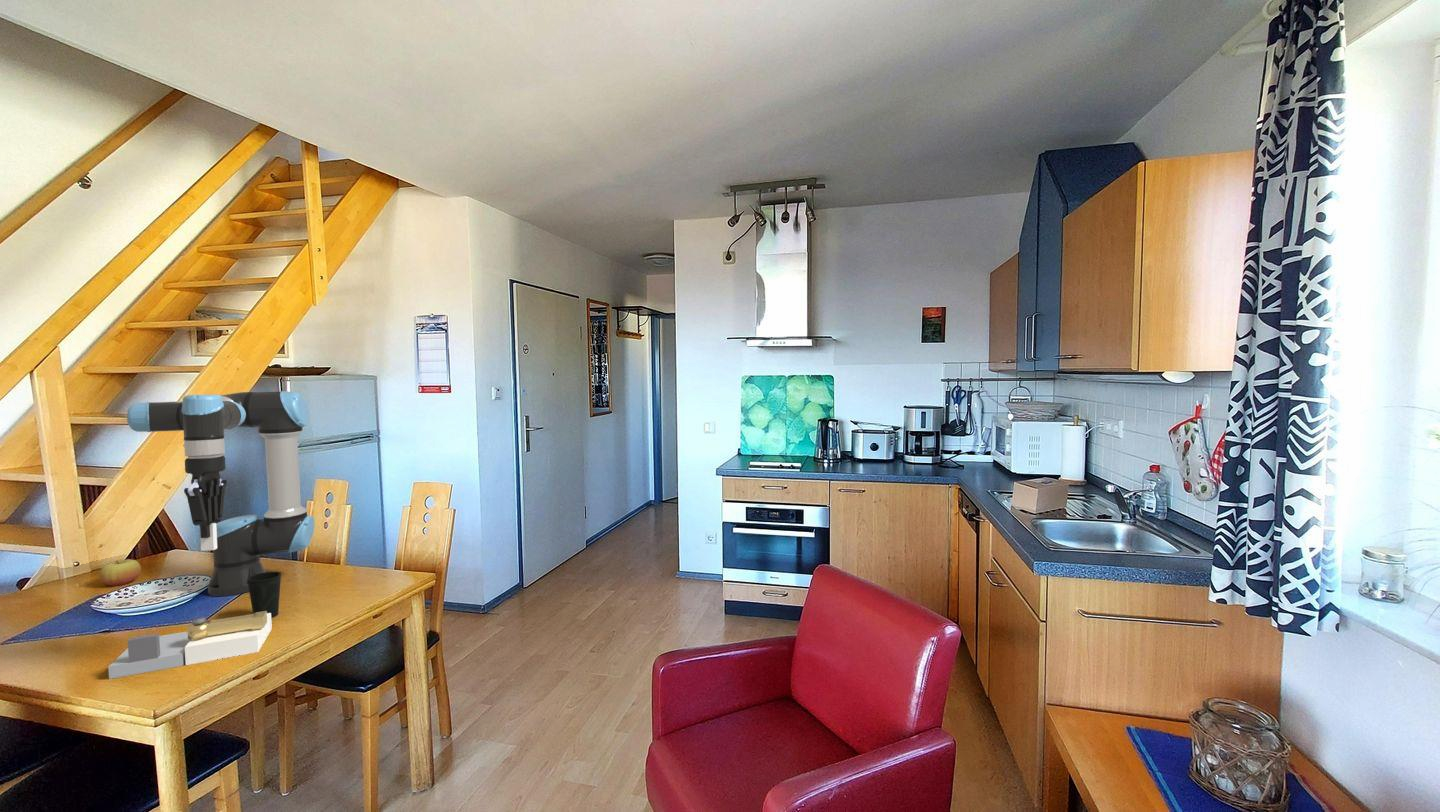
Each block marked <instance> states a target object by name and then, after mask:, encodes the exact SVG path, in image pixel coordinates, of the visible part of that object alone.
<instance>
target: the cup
mask: <svg viewBox="0 0 1440 812" xmlns="http://www.w3.org/2000/svg"><path fill="white" fill-rule="evenodd" d="M281 578H282V573H281V572H279V571H267V572H265V573H260V574H256V575H253V576H251V577H249V578H248V579H247V581H248V587H249V592H248V593H249V598H250V604H251V609H252V614H255V613H256V612H262V611H267V613H271V619H272V618H275V617H277V616H278V615H279V609H280V596H281V595H280V591H281V582H282V581H281Z"/></svg>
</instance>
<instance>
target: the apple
mask: <svg viewBox="0 0 1440 812" xmlns="http://www.w3.org/2000/svg"><path fill="white" fill-rule="evenodd" d="M141 573H142V566H141V564H140V562H139V561H137V560H135V559H131V558H130V559H129V558H127V559H121V560H115V561H112V562H109V563H107V564H105V565H103V566H102V567H101V569H100V571H99V573H98V578H99V580H100V581H101V582H102V583H103V584H105V585H106V586H108V587H110V586H112V587H114V586H115V587H116V586H122V585H127V584H129V583H132V582H133V581H135V580H137V578H138V577H139V576H140V574H141Z"/></svg>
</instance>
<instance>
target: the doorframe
mask: <svg viewBox="0 0 1440 812" xmlns="http://www.w3.org/2000/svg"><path fill="white" fill-rule="evenodd" d="M205 620H206V617H198V618H195V619H193V620H192V622H191V623H192V624H193V625H198V624H202V623H204V622H205ZM272 623H273V622H272V618H271V613H267V623H266V625H265V626H264V628H259V629H253V630H252V629H247V630H241V631H234V632H228V633H222V634H216V635H210V636H206V637H204V638H200V639H194V640H190V639H188V633H187V631H182V632H176V633H169V634H162V635H160V633H153V634H145V635H140V636H133V637H130V638H128V640H127V648H126V649H125V650H124V651H123V652H122V653H121V654H120V655H119V656H117V658H115V660H113V661H112V662H111V663H110V664H109V665H108V668H107V669H108V680H113V679H117V678H123V677H128V676H133V675H138V674H139V675H140V674H146V673H151V672H157V671H163V670H166V669H173V668H178V667H182V666H190V665H194V664H195V665H196V664H200V663H206V662H211V661H217V659H218V660H221V659H222V658H223V659H227V658H228V657H229V658H234V657H239V655H240V656H245V655H249V654H250V653H251V654H255V653H259V651H260V650H261V648H262V647H263V645H264V643H265V641H266V639H267V638H268V636H269V634H270V633H271V631H272V629H273V625H272ZM262 644H263V645H262ZM251 654H250V655H251ZM233 656H234V657H233Z"/></svg>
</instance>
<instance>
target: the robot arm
mask: <svg viewBox="0 0 1440 812" xmlns="http://www.w3.org/2000/svg"><path fill="white" fill-rule="evenodd" d="M307 404H308V403H307V401H306V399H305V398H304V395H302V394H301V393H299V392H297V391H284V390H283V391H282V390H281V391H243V392H234V393H228V394H227V393H226V394H221V395H220V394H187V395H185V396H184V397H183V398H182V400H177V401H175V400H174V401H162V402H159V401H158V402H155V401H154V402H151V401H150V402H149V401H147V402H146V401H145V402H135V403H133V404H132V405H130V406H129V408H128V410H127V412H126V419H127V420H126V421H127V425H128V426H129V428H130V429H131V430H132V431H134V432H139V433H140V432H142V433H144V432H145V433H146V432H147V433H152V432H175V431H176V432H182V431H183V441H184V442H183V445H182V446H183V447H184V456H185V457H187V458H185V459H184V471H185V473H186V474H190V475H191V480H190V485H191V486H190V487H185V488H184V489H183V491H184V494H185V496H186V499H187V503H188V508H189V512H190V517H191V521H192V524H193V525H194V526H199V535H200V536H199V537H200V551H201V552H205V551H206V552H207V551H212V557H213V571H212V574H211V577H210V580H209V582H208V586H207V594H208V595H210V596H212V597H227V596H235V595H241V594H246V593H249V587H248V581H247V579H248V578H249V577H251V576H253V575H256V574H260V573H265V572H266V569H265V567H264V566H263V563H262V562H261V556H262V555H270V554H271V555H272V554H282V553H293V552H302V551H303V550H306V549H307V548H308V547H309V545H310V544H311V542H312V538H313V535H314V533H315V532H314V531H315V517H314V515H309V514H308V510H307V508H305V507H304V506H302V501H301V500H302V498H301V481H300V480H301V479H300V464H299V462H300V461H299V446H298V443H299V441H298V437H299V435H300V434H301V433H302V432H303V431H304V429H303V427H306V426H308V424H309V422H310V421H309V418H310V413H309V408H308V405H307ZM234 428H252V429H253V428H257V429H258V435H260V436H261V437H263V438H264V445H265V446H264V447H265V463H266V464H265V465H266V480H267V483H266V484H267V496H268V497H267V498H268V510H267V511H266V512H265V513H264V514H263V518H262V519H261V518H260V516H259V515H258V514H247V515H246V514H244V515H239V516H236V517H231V518H227V519H225V520H222V517H223V513H224V512H223V511H224V503H225V502H224V501H225V492H226V487H227V483H228V481H227V479H221V474H220V472H223V471H225V470H226V466H227V465H226V457H225V456H224V455H225V453H226V447H225V442H226V441H225V430H232V429H234Z"/></svg>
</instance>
